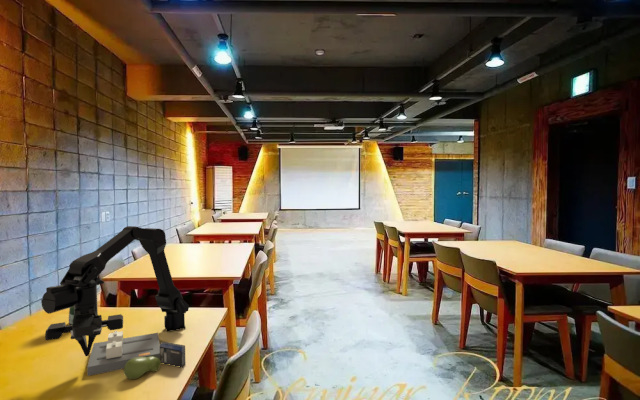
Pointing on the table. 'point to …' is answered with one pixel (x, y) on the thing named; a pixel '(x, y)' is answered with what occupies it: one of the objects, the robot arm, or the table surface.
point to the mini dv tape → (172, 354)
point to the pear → (141, 366)
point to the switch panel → (123, 353)
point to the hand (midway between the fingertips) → (87, 355)
